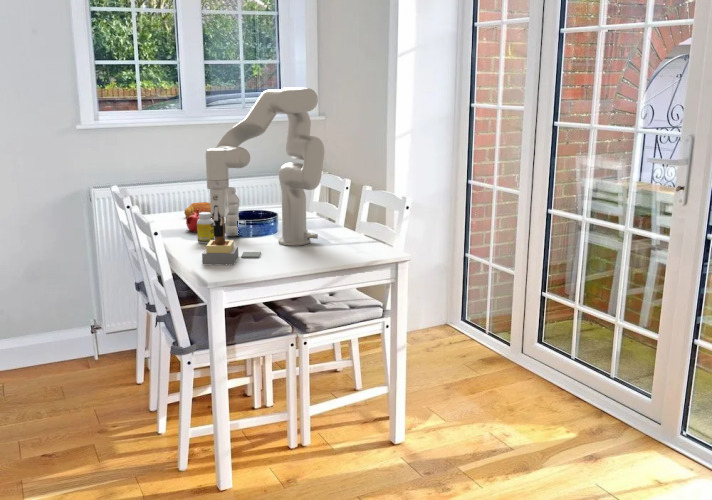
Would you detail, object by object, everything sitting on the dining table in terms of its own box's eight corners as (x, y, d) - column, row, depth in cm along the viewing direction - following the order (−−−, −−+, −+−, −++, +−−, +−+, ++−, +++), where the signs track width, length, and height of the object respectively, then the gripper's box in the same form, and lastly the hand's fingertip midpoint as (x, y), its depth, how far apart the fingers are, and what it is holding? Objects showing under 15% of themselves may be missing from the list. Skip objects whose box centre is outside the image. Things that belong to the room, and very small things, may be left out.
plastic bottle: (233, 238, 286) (232, 189, 281) (221, 236, 289) (219, 188, 284) (244, 235, 291) (242, 187, 286) (231, 233, 295) (230, 185, 290)
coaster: (261, 253, 264) (261, 251, 264) (259, 258, 258) (259, 256, 258) (243, 253, 264) (243, 251, 264) (241, 257, 258) (241, 256, 258)
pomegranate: (212, 228, 305) (211, 207, 302) (208, 233, 295) (207, 211, 293) (188, 227, 304) (188, 206, 302) (184, 232, 295) (183, 210, 292)
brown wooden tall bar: (225, 242, 254) (224, 201, 250) (224, 244, 251) (222, 203, 247) (215, 242, 254) (214, 201, 250) (214, 244, 251) (212, 203, 247)
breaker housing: (238, 256, 259) (237, 239, 258) (233, 264, 249) (233, 246, 247) (208, 256, 259) (207, 239, 258) (202, 264, 249) (201, 246, 247)
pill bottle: (210, 244, 277) (209, 215, 274) (195, 243, 278) (193, 214, 275) (217, 240, 283) (215, 211, 280) (201, 239, 284) (200, 211, 281)
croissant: (186, 219, 331) (182, 203, 329) (219, 213, 333) (216, 197, 331) (186, 225, 317) (182, 208, 315) (220, 219, 320) (217, 202, 318)
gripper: (224, 188, 239) (226, 240, 244) (232, 180, 255) (233, 230, 260) (202, 187, 239) (204, 240, 244) (211, 180, 255) (213, 229, 260)
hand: (219, 234), depth 252 cm, fingers closed on brown wooden tall bar, 3 cm apart
